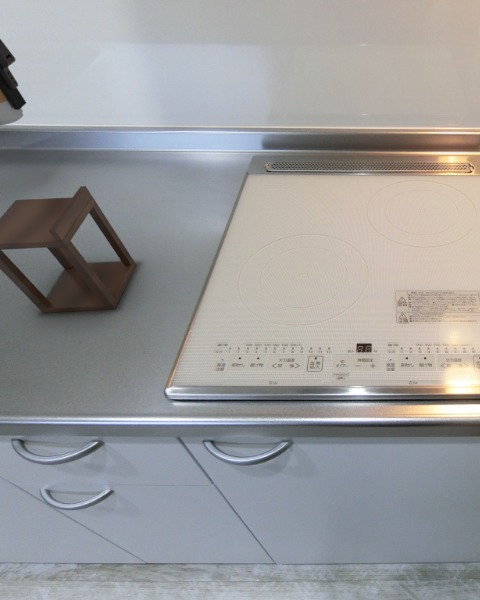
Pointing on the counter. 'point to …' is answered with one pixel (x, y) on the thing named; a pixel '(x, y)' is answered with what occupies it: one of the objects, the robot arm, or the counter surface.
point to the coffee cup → (8, 111)
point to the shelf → (64, 253)
